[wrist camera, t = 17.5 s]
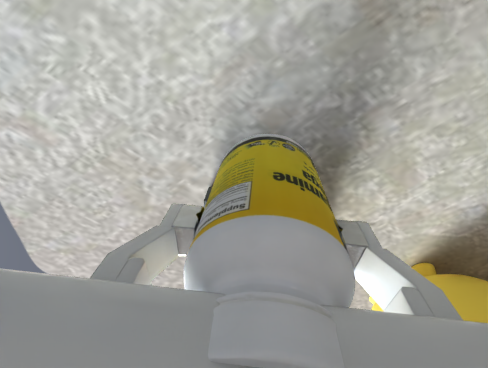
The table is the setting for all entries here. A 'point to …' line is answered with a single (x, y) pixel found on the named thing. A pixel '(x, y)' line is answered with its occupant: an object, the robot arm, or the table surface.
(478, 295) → the teapot
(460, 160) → the table surface
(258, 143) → the pill bottle
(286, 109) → the table surface
